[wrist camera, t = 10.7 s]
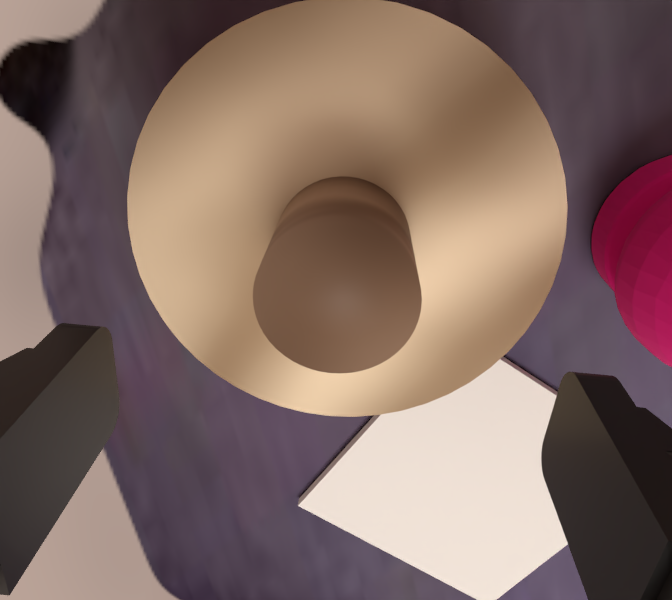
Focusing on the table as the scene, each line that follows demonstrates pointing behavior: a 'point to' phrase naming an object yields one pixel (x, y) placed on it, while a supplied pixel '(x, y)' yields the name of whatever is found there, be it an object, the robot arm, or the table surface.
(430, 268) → the lid
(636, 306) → the pepper mill
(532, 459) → the mat
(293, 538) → the table surface
